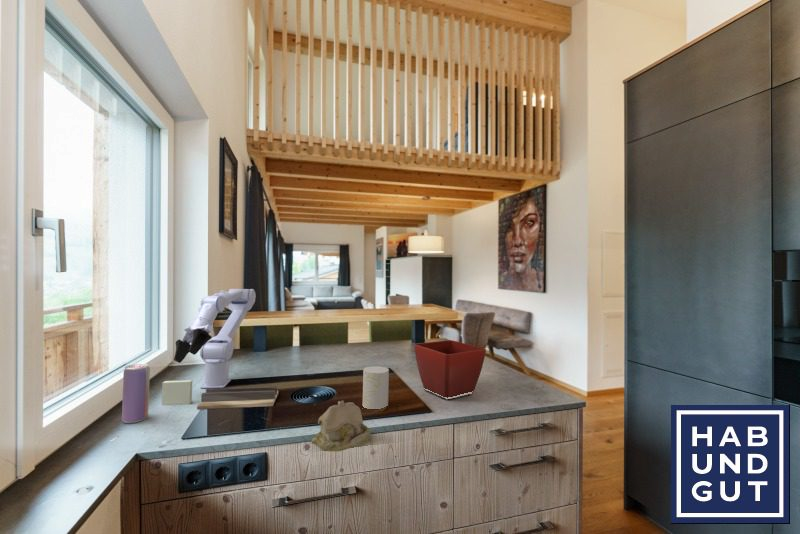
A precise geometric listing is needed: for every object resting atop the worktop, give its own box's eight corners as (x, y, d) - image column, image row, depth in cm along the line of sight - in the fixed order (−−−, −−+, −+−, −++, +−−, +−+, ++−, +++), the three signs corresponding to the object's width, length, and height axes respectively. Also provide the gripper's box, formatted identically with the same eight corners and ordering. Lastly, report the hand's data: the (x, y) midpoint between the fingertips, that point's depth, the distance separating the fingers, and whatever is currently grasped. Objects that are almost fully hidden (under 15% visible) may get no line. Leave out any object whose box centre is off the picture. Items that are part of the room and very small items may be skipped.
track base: (210, 395, 121) (210, 385, 121) (278, 393, 125) (278, 383, 125) (197, 409, 109) (197, 397, 109) (272, 406, 113) (273, 394, 113)
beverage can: (134, 425, 97) (136, 369, 97) (116, 422, 98) (118, 367, 99) (153, 416, 103) (155, 364, 103) (136, 414, 104) (138, 362, 104)
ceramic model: (320, 456, 83) (321, 413, 83) (307, 436, 93) (308, 398, 93) (375, 443, 90) (376, 403, 90) (357, 426, 100) (358, 390, 100)
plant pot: (486, 396, 127) (487, 348, 128) (446, 406, 117) (447, 354, 117) (450, 381, 143) (451, 339, 144) (411, 389, 132) (412, 344, 133)
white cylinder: (357, 407, 114) (358, 369, 114) (375, 401, 120) (376, 365, 120) (374, 414, 108) (375, 374, 109) (393, 407, 114) (394, 369, 114)
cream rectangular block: (164, 403, 114) (165, 380, 114) (191, 402, 115) (192, 380, 115) (161, 405, 112) (162, 382, 112) (189, 404, 113) (190, 381, 114)
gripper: (179, 324, 123) (159, 358, 112) (206, 308, 117) (187, 342, 107) (197, 335, 126) (179, 369, 116) (223, 320, 121) (207, 354, 111)
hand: (184, 357), depth 112 cm, fingers open, 7 cm apart
